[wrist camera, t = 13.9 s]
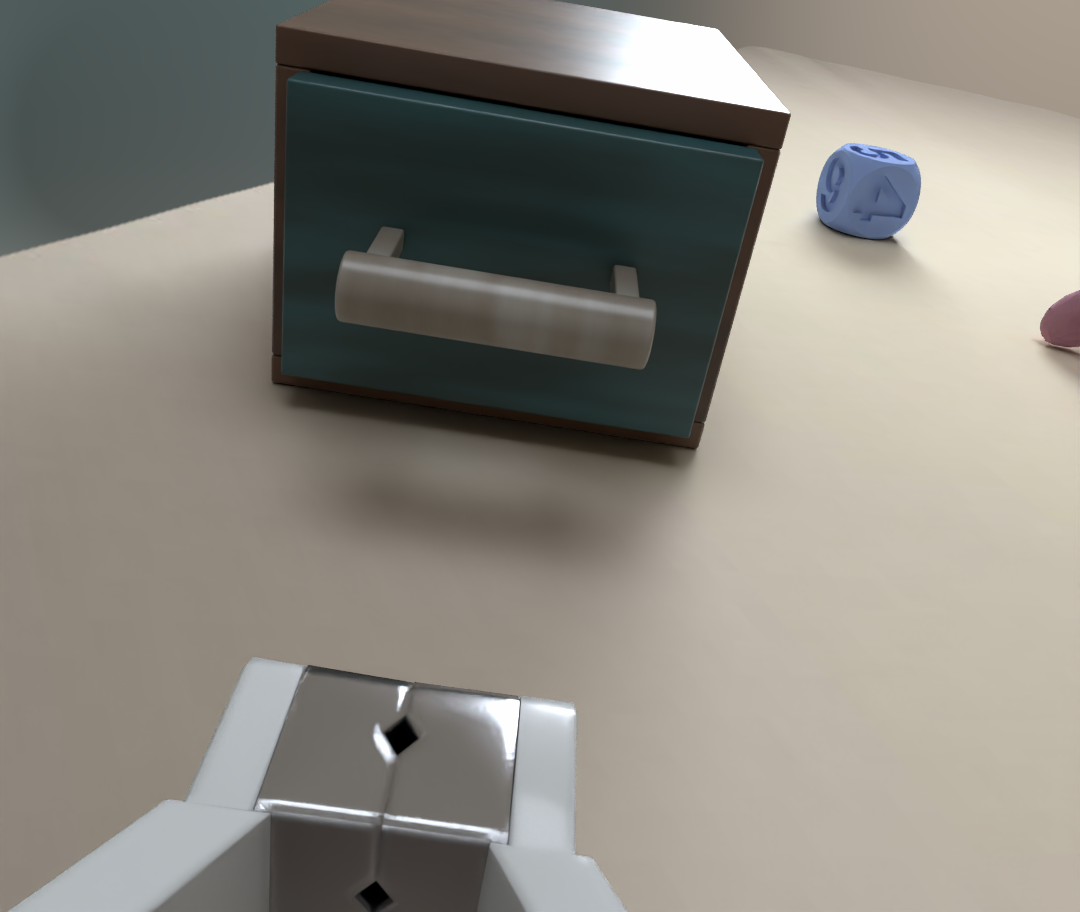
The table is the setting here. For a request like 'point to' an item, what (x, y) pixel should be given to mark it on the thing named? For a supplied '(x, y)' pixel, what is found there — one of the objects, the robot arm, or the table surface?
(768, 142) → the cabinet
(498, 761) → the robot arm
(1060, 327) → the video game controller
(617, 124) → the drawer
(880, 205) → the decorative dice
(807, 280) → the table surface
